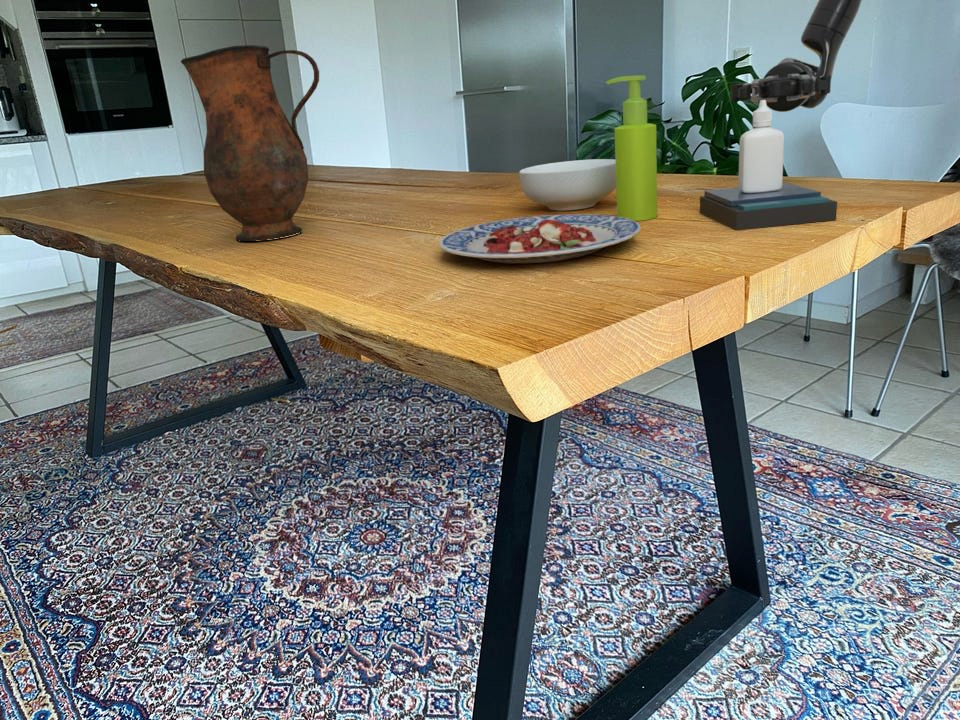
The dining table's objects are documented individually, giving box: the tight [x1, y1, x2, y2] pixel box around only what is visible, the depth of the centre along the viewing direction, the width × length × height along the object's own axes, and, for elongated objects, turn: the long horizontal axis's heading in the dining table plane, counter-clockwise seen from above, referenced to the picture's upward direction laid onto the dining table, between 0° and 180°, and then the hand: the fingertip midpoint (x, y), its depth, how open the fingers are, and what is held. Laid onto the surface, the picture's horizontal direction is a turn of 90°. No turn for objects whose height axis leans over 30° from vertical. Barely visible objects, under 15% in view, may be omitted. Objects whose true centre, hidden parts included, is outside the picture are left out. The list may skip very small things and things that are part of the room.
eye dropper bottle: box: [737, 100, 785, 193], centre depth 100 cm, size 4×6×12 cm
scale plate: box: [703, 182, 822, 207], centre depth 103 cm, size 12×11×1 cm
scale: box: [699, 195, 838, 231], centre depth 102 cm, size 13×15×3 cm
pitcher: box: [180, 44, 320, 242], centre depth 122 cm, size 17×21×30 cm
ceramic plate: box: [438, 213, 641, 264], centre depth 95 cm, size 26×26×3 cm
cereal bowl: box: [518, 158, 616, 212], centre depth 124 cm, size 17×17×7 cm
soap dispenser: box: [605, 75, 658, 222], centre depth 107 cm, size 6×7×20 cm
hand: (774, 90), depth 109 cm, fingers open, 8 cm apart
